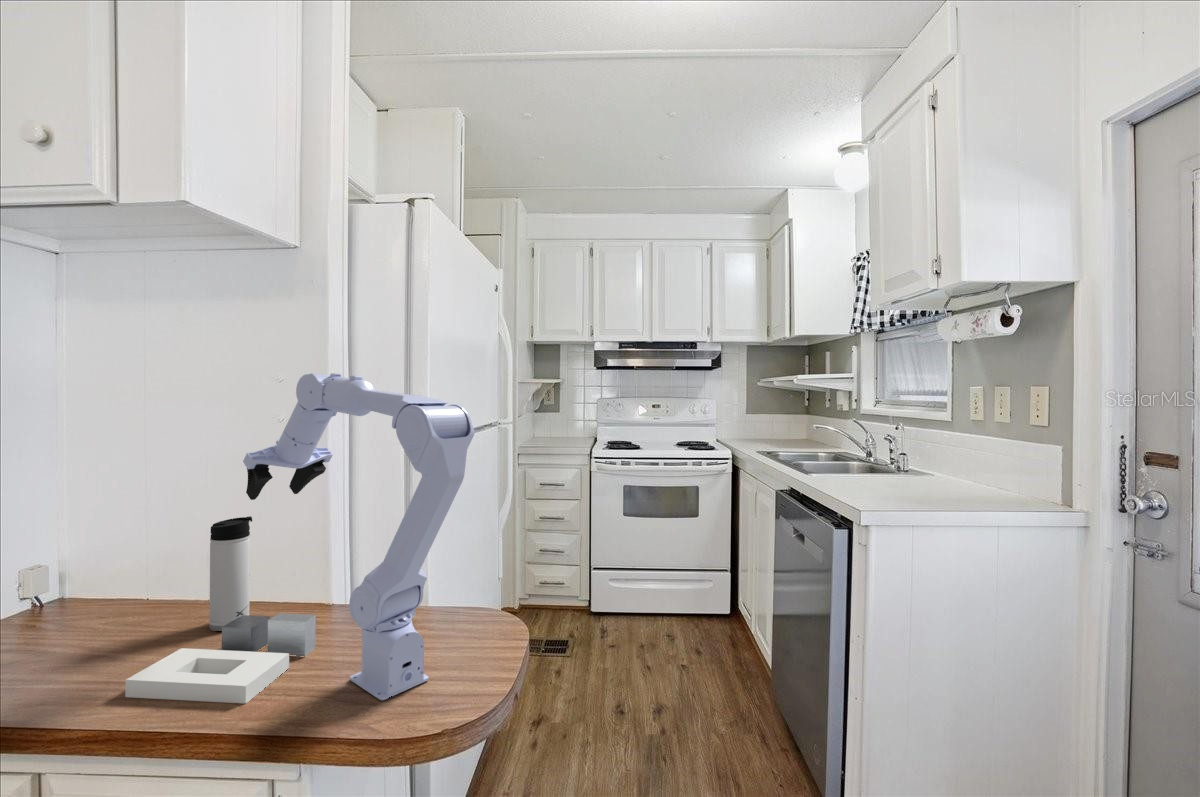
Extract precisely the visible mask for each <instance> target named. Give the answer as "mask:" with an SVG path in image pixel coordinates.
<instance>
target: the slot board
mask: <svg viewBox="0 0 1200 797" xmlns="http://www.w3.org/2000/svg"><path fill="white" fill-rule="evenodd" d="M288 668H289V669H290V657H289V653H271V652H268V651H267V652H266V651H265V652H264V651H260V652H250V651H229V650H222V649H207V648H206V649H204V648H182V647H181V648H179V649H178V650H176V651H174V652H173V653H171V654H168V655H167V656H165V657H163V658H162V659H160V660H158V661H156V662H154V663H153V664H151V665H149V666H147V667H145V668H144V669H142V670H140V671H139V672H137V673H135V674H133V675H131V676H130V677H128V678H126V679H125V684H124V685H125V689H124V690H125V693H124V695H125V698H135V699H153V700H173V701H190V702H191V701H192V702H212V703H225V704H226V703H228V704H229V703H231V704H247V703H249V701H251V700H252V699H253V698H254V697H256V696H257V695H259V692H260V693H261V692H262V691H263V690H265V689H266V688H267V687H269V686H270V685H271V684H272V683H274V682H275V681H276V680H277V679H278V678H279V676H280V675H281V674H282V673H283V674H285V673H286V672H287V671H288V670H289V669H288ZM287 669H288V670H287ZM286 670H287V671H286ZM285 671H286V672H285ZM284 672H285V673H284ZM283 674H282V675H283ZM282 675H281V676H282ZM281 676H280V677H281ZM277 677H278V678H277ZM275 679H276V680H275ZM274 680H275V681H274ZM270 683H271V684H270ZM269 684H270V685H269ZM265 687H266V688H265ZM264 688H265V689H264Z"/></svg>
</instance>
